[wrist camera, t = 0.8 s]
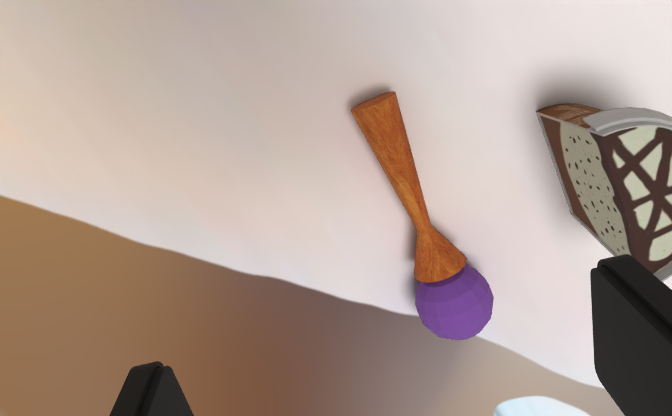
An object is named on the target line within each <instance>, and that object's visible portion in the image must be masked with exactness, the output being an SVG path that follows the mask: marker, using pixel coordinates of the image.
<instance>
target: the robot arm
mask: <svg viewBox="0 0 672 416" xmlns="http://www.w3.org/2000/svg"><path fill="white" fill-rule="evenodd" d="M591 298H592V320H593V342H594V364H595V370H596V373H597V376H598V378H599V380H600V382H601V383H602V385H603V386H604V387H605V389H606V390H607V392H608V393H609V394H610V395H611V397H612V398H613V400H614V401H615V403H616V404H617V405H618V407H619V408H620V409H621V411H622V412H623V413H624V415H625V416H672V290H671V289H670V288H669V287H667V286H666V285H665V284H664V283H663V282H662V281H660V280H659V279H658V278H657V277H656V276H655V275H653V274H652V273H651V272H650V271H649V270H648V269H646V268H645V267H644V266H643V265H642V264H641V263H639V262H638V261H637V260H636V259H635V258H634V257H632V256H631V255H629V254H624V255H619V256H615V257H610V258H606V259H602V260H600V261H599V262H598V264H597V268H593V269H592V270H591ZM110 416H194V415H193V413H192V411H191V409H190V407H189V404H188V402H187V400H186V398H185V396H184V394H183V392H182V389H181V387H180V385H179V383H178V381H177V379H176V377H175V374H174V373H173V370H172V369H171V367H169V366H163V364H162V363H161V362H158V361H156V362H152V363H148V364H143V365H139V366H134V367H133V368H132V369H131V370H130V372H129V374H128V376H127V378H126V380H125V382H124V385H123V387H122V389H121V392H120V394H119V396H118V398H117V400H116V402H115V405H114V407H113V409H112V411H111V414H110Z"/></svg>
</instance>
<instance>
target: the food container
mask: <svg viewBox="0 0 672 416" xmlns="http://www.w3.org/2000/svg"><path fill="white" fill-rule="evenodd" d="M536 113H537V116H538V119H539V122H540V125H541V128H542V131H543V134H544V137H545V140H546V143H547V145H548V148H549V151H550V154H551V157H552V160H553V163H554V166H555V169H556V172H557V175H558V177H559V180H560V183H561V186H562V189H563V192H564V195H565V198H566V201H567V204H568V206H569V209H570V212H571V215H572V216H573V217H575V218H576V219H577V220H578V221H579V222H580V223H581V224H582V225H583V226H584V227H585V228H586V229H587V230H588V231H589V232H590V233H591V234H592V235H593V236H594V237H595V238H596V239H597V240H598V241H599V242H600V243H601V244H602V245H603V246H604V247H605V248H606V249H607V250H608V251H609V252H610V253H611V254H612V255H613V256H614V257H615V256H619V255H624V254H629V255H631V256H632V257H634V258H635V259H636V260H637V261H638V262H639V263H641V264H642V265H643V266H644V267H645V268H646V269H648V270H649V271H650V272H651V273H652V274H653V275H655V276H656V277H657V278H658V279H659V280H660V281H662V282H663V281H665V280H666V279H668V278H669V277H671V276H672V117H670V116H668V115H666V114H663V113H661V112H658V111H654V110H650V109H646V108H632V107H629V108H617V109H611V110H607V111H605V110H600V109H596V108H592V107H588V106H583V105H579V104H557V105H553V106H549V107H546V108H543V109H541V110H538V111H536Z"/></svg>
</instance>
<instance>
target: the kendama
mask: <svg viewBox="0 0 672 416" xmlns="http://www.w3.org/2000/svg"><path fill="white" fill-rule="evenodd" d="M351 112H352V114H353V116H354V117H355V119H356V121H357V123H358V125H359V126H360V128H361V130H362V132H363V134H364V135H365V137H366V139H367V141H368V143H369V144H370V146H371V148H372V150H373V152H374V153H375V155H376V157H377V159H378V161H379V162H380V164H381V166H382V168H383V170H384V171H385V173H386V175H387V177H388V179H389V180H390V182H391V184H392V186H393V188H394V189H395V191H396V193H397V195H398V197H399V198H400V200H401V202H402V204H403V206H404V207H405V209H406V211H407V213H408V215H409V216H410V218H411V220H412V222H413V223H414V225H415V227H416V229H417V241H416V254H415V267H414V276H415V279H417V280H418V281H420V283H419V285H418V288H417V291H416V304H415V305H416V308H417V311H418V314H419V316H420V318H421V320H422V323H423V324H424V325H425V326H426V327H427V328H428V329H429V330H431V331H432V332H433V333H434V334H436V335H437V336H439V337H442V338H447V339H452V340H464V339H468V338H471V337H473V336H475V335H476V334H478V333H479V332H480V331H481V330H482V329H483V328H484V326H485V325H486V324H487V323H488V321H489V320H490V319H491V314H492V307H493V298H494V297H493V295H492V292H491V289H490V287H489V284H488V283H487V281H486V279H485V278H484V277H483V276H482V275H481V274H480V273H479V272H478V271H477V270H476V269H474V268H472V267H469V266H466V265H465V264H466V260H467V259H466V257H465V255H464V254H463V253H462V252H461V251H460V250H458V249H457V248H456V247H455V246H454V245H453V244H452V243H450V242H449V241H448V240H447V239H446V238H445V237H444V236H443V235H441V234H440V233H439V232H438V231H437V230H436V229H435V228H434V227H432V226H431V223H430V220H429V216H428V212H427V209H426V205H425V201H424V197H423V194H422V190H421V186H420V182H419V179H418V175H417V171H416V168H415V164H414V160H413V156H412V153H411V149H410V145H409V141H408V138H407V134H406V130H405V126H404V123H403V119H402V115H401V112H400V108H399V104H398V100H397V97H396V93H395V92H394V91H393V92H388V93H384V94H381V95H379V96H377V97H375V98H372V99H370V100H368V101H365V102H363V103H361V104H359V105H357V106H356V107H354V108H353V109H352V110H351Z"/></svg>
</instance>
